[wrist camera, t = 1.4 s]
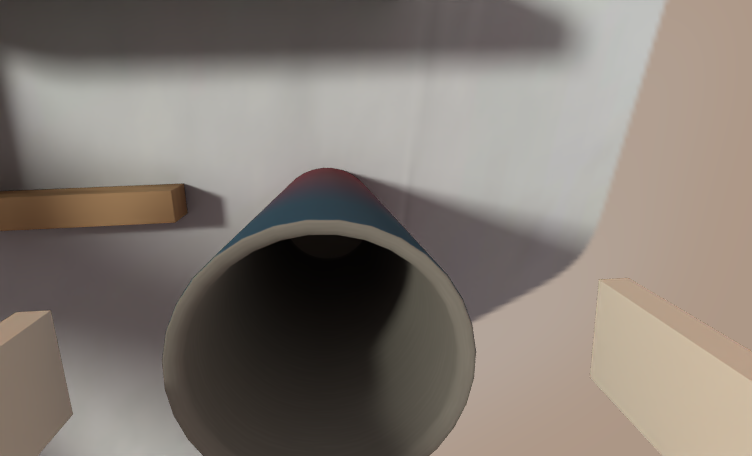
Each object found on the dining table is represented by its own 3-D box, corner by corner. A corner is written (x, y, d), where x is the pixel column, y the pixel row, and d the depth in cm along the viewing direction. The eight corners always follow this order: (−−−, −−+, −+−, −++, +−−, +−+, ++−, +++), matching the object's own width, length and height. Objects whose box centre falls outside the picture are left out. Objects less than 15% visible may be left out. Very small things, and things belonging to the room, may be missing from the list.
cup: (406, 256, 26) (504, 450, 11) (285, 293, 26) (228, 535, 11) (372, 133, 24) (435, 177, 10) (241, 171, 24) (107, 275, 10)
